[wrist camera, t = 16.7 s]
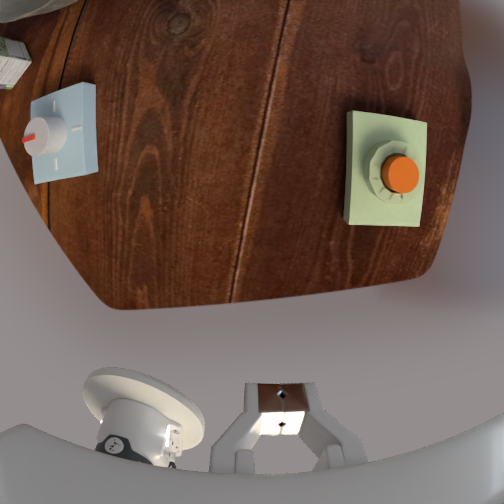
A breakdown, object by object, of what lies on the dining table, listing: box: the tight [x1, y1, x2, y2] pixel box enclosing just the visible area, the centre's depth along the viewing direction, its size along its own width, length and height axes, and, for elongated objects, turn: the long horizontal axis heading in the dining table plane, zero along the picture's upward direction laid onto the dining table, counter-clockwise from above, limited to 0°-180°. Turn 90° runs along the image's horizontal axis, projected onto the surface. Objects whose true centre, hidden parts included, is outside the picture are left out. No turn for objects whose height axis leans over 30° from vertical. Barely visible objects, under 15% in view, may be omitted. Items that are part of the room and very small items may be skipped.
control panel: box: [31, 82, 98, 184], centre depth 26 cm, size 11×9×3 cm
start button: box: [381, 155, 419, 193], centre depth 24 cm, size 4×4×2 cm
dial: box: [22, 117, 67, 156], centre depth 23 cm, size 4×4×4 cm
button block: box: [343, 111, 427, 227], centre depth 27 cm, size 12×9×4 cm
